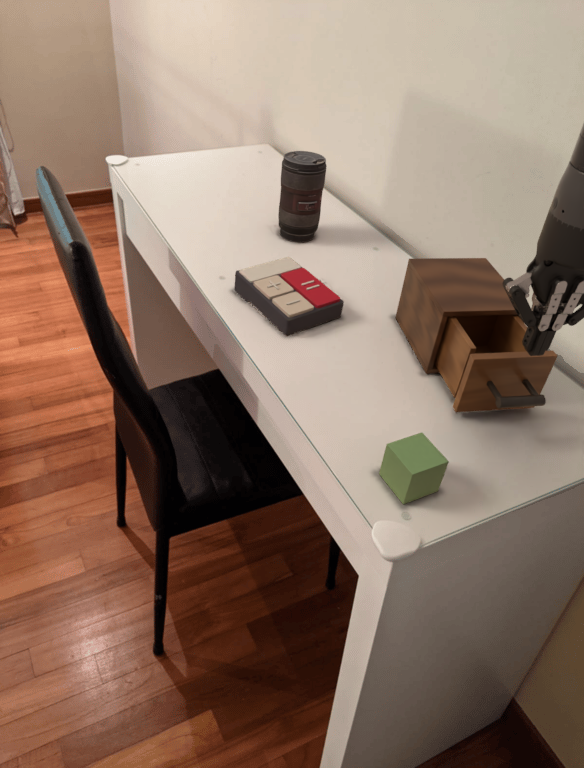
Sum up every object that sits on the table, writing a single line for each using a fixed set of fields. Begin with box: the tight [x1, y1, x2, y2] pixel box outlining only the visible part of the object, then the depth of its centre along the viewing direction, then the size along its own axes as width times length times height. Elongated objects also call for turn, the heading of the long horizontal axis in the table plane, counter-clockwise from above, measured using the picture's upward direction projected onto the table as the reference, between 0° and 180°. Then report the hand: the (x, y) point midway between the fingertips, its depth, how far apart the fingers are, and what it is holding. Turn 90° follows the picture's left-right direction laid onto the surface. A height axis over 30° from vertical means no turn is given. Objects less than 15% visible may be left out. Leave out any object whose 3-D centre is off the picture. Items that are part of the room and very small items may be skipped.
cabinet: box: [395, 257, 525, 375], centre depth 91 cm, size 15×13×11 cm
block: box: [378, 432, 450, 505], centre depth 70 cm, size 5×5×5 cm
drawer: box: [434, 315, 558, 413], centre depth 82 cm, size 18×11×9 cm, turn 10°
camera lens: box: [277, 150, 327, 243], centre depth 114 cm, size 8×8×15 cm
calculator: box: [234, 256, 345, 336], centre depth 98 cm, size 11×4×15 cm
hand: (532, 351), depth 72 cm, fingers closed
